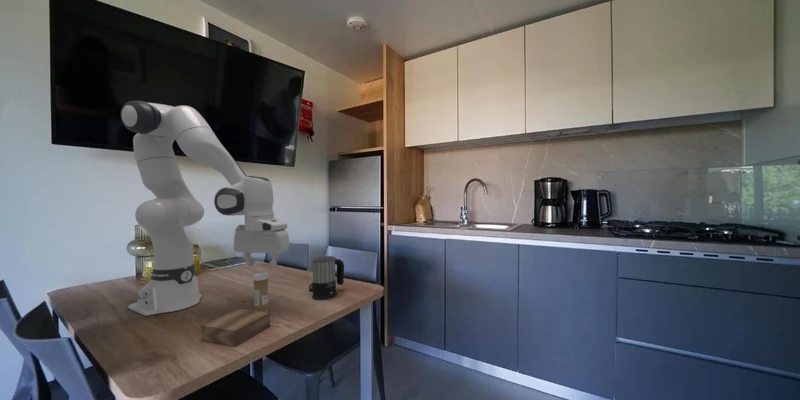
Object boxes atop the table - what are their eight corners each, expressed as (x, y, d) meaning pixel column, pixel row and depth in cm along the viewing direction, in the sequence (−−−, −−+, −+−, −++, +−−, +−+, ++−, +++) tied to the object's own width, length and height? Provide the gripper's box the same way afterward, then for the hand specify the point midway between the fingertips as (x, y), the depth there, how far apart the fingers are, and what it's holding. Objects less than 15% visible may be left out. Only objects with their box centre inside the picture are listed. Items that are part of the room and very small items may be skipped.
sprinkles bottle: (269, 314, 94) (269, 273, 94) (254, 317, 91) (253, 275, 91) (267, 309, 98) (267, 270, 98) (252, 312, 95) (252, 272, 95)
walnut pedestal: (201, 339, 77) (201, 325, 77) (239, 321, 88) (238, 308, 88) (235, 346, 73) (235, 331, 73) (270, 326, 85) (269, 312, 85)
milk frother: (327, 301, 104) (326, 261, 104) (293, 296, 110) (292, 258, 110) (347, 289, 118) (347, 254, 118) (316, 286, 123) (315, 252, 123)
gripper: (227, 225, 94) (229, 267, 94) (277, 225, 88) (279, 269, 88) (243, 223, 100) (245, 262, 100) (291, 223, 94) (293, 264, 94)
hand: (261, 266), depth 94 cm, fingers open, 8 cm apart
